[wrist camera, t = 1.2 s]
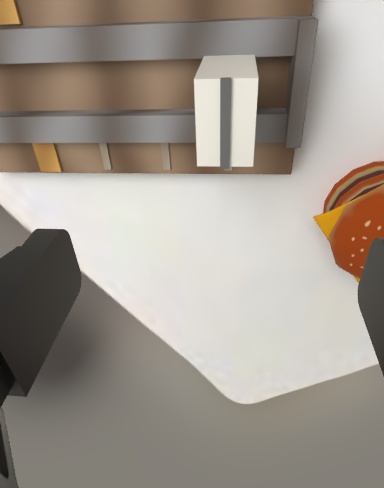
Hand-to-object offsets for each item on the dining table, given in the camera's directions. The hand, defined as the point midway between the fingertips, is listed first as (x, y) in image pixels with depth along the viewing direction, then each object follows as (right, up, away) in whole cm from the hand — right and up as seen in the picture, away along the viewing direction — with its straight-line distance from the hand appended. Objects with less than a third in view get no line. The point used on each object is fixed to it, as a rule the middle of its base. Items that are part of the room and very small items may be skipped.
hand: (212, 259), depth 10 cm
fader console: (-6, +13, +18) cm, 23 cm away
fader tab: (+2, +12, +16) cm, 20 cm away
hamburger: (+16, +4, +22) cm, 28 cm away
